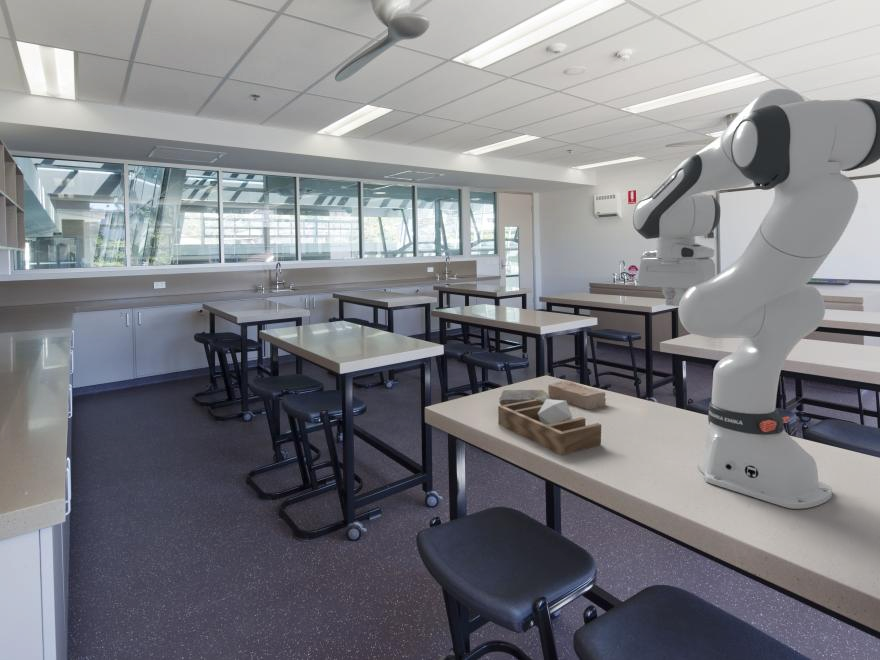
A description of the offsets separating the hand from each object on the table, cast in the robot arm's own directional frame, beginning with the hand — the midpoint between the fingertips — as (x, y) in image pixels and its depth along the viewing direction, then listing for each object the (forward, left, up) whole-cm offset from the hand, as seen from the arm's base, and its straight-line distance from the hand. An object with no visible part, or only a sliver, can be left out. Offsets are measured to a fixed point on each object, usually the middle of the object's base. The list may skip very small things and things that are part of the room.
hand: (672, 305), depth 132 cm
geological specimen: (+28, +25, -32) cm, 49 cm away
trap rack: (+10, +32, -31) cm, 46 cm away
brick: (+28, +6, -32) cm, 43 cm away
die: (+11, +29, -31) cm, 44 cm away
